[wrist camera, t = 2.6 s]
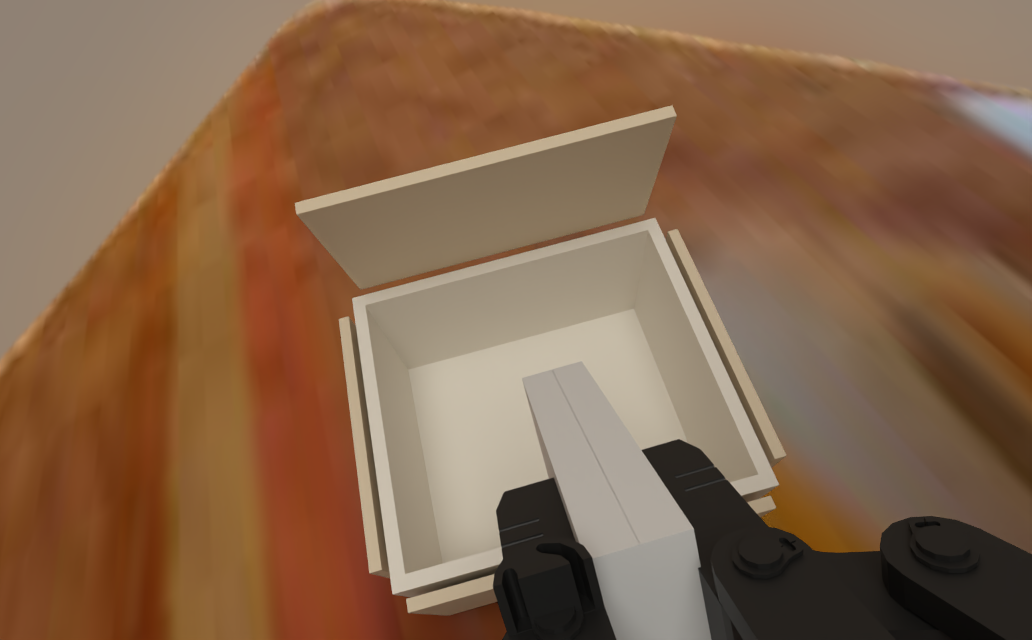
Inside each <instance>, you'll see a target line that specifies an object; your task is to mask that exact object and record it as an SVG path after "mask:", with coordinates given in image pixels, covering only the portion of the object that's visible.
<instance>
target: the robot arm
mask: <svg viewBox="0 0 1032 640" xmlns="http://www.w3.org/2000/svg"><path fill="white" fill-rule="evenodd" d="M522 381H523V384H524V388H525V392H526V396H527V399H528V403H529V407H530V410H531V414H532V418H533V422H534V425H535V429H536V433H537V437H538V440H539V444H540V448H541V451H542V455H543V459H544V463H545V466H546V470H547V474H548V477H549V479H546V480H543V481H539V482H536V483H533V484H529V485H526V486H522V487H519V488H515V489H512V490H508V491H505V492H504V493H503V495H502V498H501V500H500V502H499V505H498V507H497V509H496V515H497V522H498V529H499V535H500V542H501V547H502V556H503V560H502V561H501V563H500V565H499V566H498V568H497V569H496V571H495V574H494V581H493V589H494V593H495V596H496V599H497V602H498V605H499V608H500V611H501V614H502V617H503V620H504V624H505V627H506V630H507V632H506V634H505V636H504V637H503V639H502V640H1032V554H1030V553H1028V552H1026V551H1024V550H1022V549H1020V548H1018V547H1016V546H1014V545H1012V544H1010V543H1008V542H1006V541H1003V540H1001V539H999V538H997V537H995V536H993V535H991V534H989V533H987V532H985V531H983V530H981V529H979V528H976V527H974V526H971V525H968V524H965V523H963V522H960V521H957V520H952V519H946V518H940V517H933V516H927V517H910V518H907V519H904V520H901V521H898V522H895V523H892V524H891V525H890V526H889V527H888V528H887V529H886V530H885V531H884V532H883V533H882V536H881V543H880V551H873V552H848V553H831V552H819V551H814V550H812V549H811V548H810V547H809V546H808V545H807V544H806V543H804V542H803V541H802V540H800V539H799V538H798V537H796V536H795V535H794V534H791V533H788V532H785V531H783V530H780V529H777V528H770V527H768V526H767V525H766V524H765V522H764V521H763V520H762V519H761V518H760V517H759V516H758V514H757V513H756V512H755V511H754V510H753V509H752V508H751V506H750V505H749V504H748V503H747V502H746V501H745V500H744V498H743V497H742V496H741V495H740V494H739V493H738V491H737V490H736V489H735V488H734V487H733V486H732V485H731V483H730V482H729V481H728V480H726V479H725V477H724V475H723V474H722V473H721V472H720V471H719V470H718V469H717V467H714V464H713V463H712V462H711V461H710V459H709V458H708V457H707V456H706V455H705V454H704V452H703V451H702V450H701V449H699V448H697V447H695V446H693V445H691V444H689V443H687V442H684V441H682V440H680V439H677V440H674V441H670V442H667V443H663V444H660V445H657V446H653V447H650V448H646V449H643V450H641V449H640V447H639V446H638V444H637V443H636V441H635V440H634V438H633V437H632V435H631V434H630V432H629V431H628V429H627V428H626V426H625V425H624V424H623V422H622V421H621V419H620V418H619V416H618V415H617V413H616V412H615V410H614V409H613V407H612V406H611V404H610V403H609V401H608V400H607V398H606V397H605V395H604V394H603V392H602V391H601V389H600V388H599V386H598V385H597V383H596V382H595V380H594V379H593V377H592V376H591V374H590V373H589V371H588V370H587V368H586V367H585V365H584V364H583V362H582V361H580V362H577V363H573V364H570V365H566V366H562V367H559V368H555V369H552V370H548V371H545V372H541V373H538V374H534V375H531V376H527V377H523V378H522Z"/></svg>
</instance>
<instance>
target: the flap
mask: <svg viewBox="0 0 1032 640" xmlns="http://www.w3.org/2000/svg"><path fill="white" fill-rule="evenodd" d="M676 116H677V115H676V113H675V111H674V108H673V106H668V107H664V108H660V109H656V110H653V111H649V112H645V113H641V114H637V115H633V116H629V117H625V118H622V119H618V120H614V121H610V122H606V123H602V124H598V125H595V126H591V127H587V128H583V129H579V130H575V131H571V132H567V133H564V134H560V135H556V136H552V137H548V138H544V139H540V140H537V141H533V142H529V143H525V144H521V145H517V146H513V147H510V148H506V149H502V150H498V151H494V152H490V153H486V154H482V155H479V156H475V157H471V158H467V159H463V160H459V161H455V162H452V163H448V164H444V165H440V166H436V167H432V168H428V169H424V170H421V171H417V172H413V173H409V174H405V175H401V176H397V177H394V178H390V179H386V180H382V181H378V182H374V183H370V184H366V185H363V186H359V187H355V188H351V189H347V190H343V191H339V192H336V193H332V194H328V195H324V196H320V197H316V198H312V199H308V200H305V201H301V202H297V203H295V207H296V214H297V215H298V217H299V218H300V219H301V220H302V221H303V222H304V224H305V225H306V226H307V227H308V228H309V229H310V231H311V232H312V233H313V234H314V235H315V237H316V238H317V239H318V240H319V241H320V242H321V244H322V245H323V246H324V247H325V248H326V249H327V251H328V252H329V253H330V254H331V255H332V257H333V258H334V259H335V260H336V261H337V262H338V264H339V265H340V266H341V267H342V268H343V269H344V271H345V272H346V273H347V274H348V275H349V277H350V278H351V279H352V280H353V281H354V282H355V284H356V285H357V286H358V287H359V288H360V289H365V288H369V287H373V286H376V285H380V284H384V283H388V282H392V281H395V280H399V279H403V278H407V277H410V276H414V275H418V274H422V273H426V272H429V271H433V270H437V269H441V268H444V267H448V266H452V265H456V264H460V263H463V262H467V261H471V260H475V259H478V258H482V257H486V256H490V255H493V254H497V253H501V252H505V251H509V250H512V249H516V248H520V247H524V246H527V245H531V244H535V243H539V242H543V241H546V240H550V239H554V238H558V237H561V236H565V235H569V234H573V233H577V232H580V231H584V230H588V229H592V228H595V227H599V226H603V225H607V224H611V223H614V222H618V221H622V220H626V219H629V218H633V217H637V216H641V215H644V212H645V209H646V206H647V203H648V200H649V197H650V194H651V191H652V188H653V185H654V182H655V179H656V176H657V173H658V170H659V167H660V164H661V161H662V158H663V155H664V152H665V149H666V146H667V143H668V140H669V137H670V134H671V131H672V128H673V125H674V122H675V119H676Z"/></svg>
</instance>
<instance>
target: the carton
mask: <svg viewBox="0 0 1032 640" xmlns="http://www.w3.org/2000/svg"><path fill="white" fill-rule="evenodd" d="M352 300H353V308H354V315H355V322H356V326H355V324H354V323H353V322H352V320H351V319H350V318H349V317H345V318H341V319H339V325H340V333H341V341H342V350H343V358H344V366H345V374H346V383H347V391H348V399H349V408H350V416H351V424H352V432H353V441H354V449H355V457H356V465H357V474H358V482H359V490H360V498H361V507H362V515H363V523H364V532H365V540H366V548H367V556H368V565H369V573H371V574H375V575H379V576H383V577H387V578H390V579H391V586H392V594H393V595H399V596H406V597H412V598H408V599H406V602H407V608H408V613H417V614H432V615H447V616H449V615H452V614H456V613H459V612H463V611H466V610H470V609H473V608H477V607H480V606H484V605H487V604H491V603H494V602H497V599H496V596H495V593H494V589H493V581H494V574H495V571H496V569H497V568H498V566H499V565H500V563H501V561H502V560H503V556H502V547H501V542H500V535H499V529H498V522H497V515H496V509H497V507H498V505H499V502H500V500H501V498H502V495H503V493H504V492H505V491H508V490H512V489H515V488H519V487H522V486H526V485H529V484H533V483H536V482H539V481H543V480H546V479H549V477H548V474H547V470H546V466H545V463H544V459H543V455H542V451H541V448H540V444H539V440H538V437H537V433H536V429H535V425H534V422H533V418H532V414H531V410H530V407H529V403H528V399H527V396H526V392H525V388H524V384H523V381H522V378H523V377H527V376H531V375H534V374H538V373H541V372H545V371H548V370H552V369H555V368H559V367H562V366H566V365H570V364H573V363H577V362H580V361H582V362H583V364H584V365H585V367H586V368H587V370H588V371H589V373H590V374H591V376H592V377H593V379H594V380H595V382H596V383H597V385H598V386H599V388H600V389H601V391H602V392H603V394H604V395H605V397H606V398H607V400H608V401H609V403H610V404H611V406H612V407H613V409H614V410H615V412H616V413H617V415H618V416H619V418H620V419H621V421H622V422H623V424H624V425H625V426H626V428H627V429H628V431H629V432H630V434H631V435H632V437H633V438H634V440H635V441H636V443H637V444H638V446H639V447H640V449H641V450H643V449H646V448H650V447H653V446H657V445H660V444H663V443H667V442H670V441H674V440H677V439H680V440H682V441H684V442H687V443H689V444H691V445H693V446H695V447H697V448H699V449H701V450H702V451H703V452H704V454H705V455H706V456H707V457H708V458H709V459H710V461H711V462H712V463H713V464H714V467H717V469H718V470H719V471H720V472H721V473H722V474H723V475H724V477H725V479H726V480H728V481H729V482H730V483H731V485H732V486H733V487H734V488H735V489H736V490H737V491H738V493H739V494H740V495H741V496H742V497H743V498H744V500H745V501H746V502H747V503H748V504H749V505H750V506H751V508H752V509H753V510H754V511H755V512H756V513H757V514H758V516H759V517H762V516H764V515H765V514H767V513H769V512H771V511H772V510H774V509H776V506H775V504H774V502H773V499H772V497H771V496H768V497H764V498H761V497H762V496H764V495H765V494H767V493H768V492H770V491H771V490H772V489H774V488H775V487H777V486H778V485H779V483H778V481H777V479H776V477H775V475H774V473H773V470H772V467H773V466H774V465H776V464H777V463H778V462H779V461H781V460H782V459H783V458H784V457H786V456H787V455H786V453H785V451H784V449H783V447H782V445H781V443H780V441H779V439H778V437H777V435H776V433H775V431H774V429H773V426H772V424H771V422H770V420H769V418H768V416H767V414H766V412H765V410H764V408H763V406H762V404H761V402H760V399H759V397H758V395H757V393H756V391H755V389H754V387H753V385H752V383H751V381H750V379H749V377H748V375H747V373H746V370H745V368H744V366H743V364H742V362H741V360H740V358H739V356H738V354H737V352H736V350H735V348H734V346H733V343H732V341H731V339H730V337H729V335H728V333H727V331H726V329H725V327H724V325H723V323H722V321H721V319H720V317H719V314H718V312H717V310H716V308H715V306H714V304H713V302H712V300H711V298H710V296H709V294H708V292H707V290H706V287H705V285H704V283H703V281H702V279H701V277H700V275H699V273H698V271H697V269H696V267H695V265H694V263H693V261H692V258H691V256H690V254H689V252H688V250H687V248H686V246H685V244H684V242H683V240H682V238H681V236H680V234H679V231H678V229H676V230H672V231H668V233H667V238H666V240H665V238H664V236H663V234H662V231H661V229H660V227H659V225H658V223H657V221H656V219H655V218H653V219H649V220H645V221H642V222H638V223H634V224H630V225H627V226H623V227H619V228H615V229H612V230H608V231H604V232H600V233H596V234H593V235H589V236H585V237H581V238H578V239H574V240H570V241H566V242H562V243H559V244H555V245H551V246H547V247H544V248H540V249H536V250H532V251H529V252H525V253H521V254H517V255H513V256H510V257H506V258H502V259H498V260H495V261H491V262H487V263H483V264H480V265H476V266H472V267H468V268H464V269H461V270H457V271H453V272H449V273H446V274H442V275H438V276H434V277H430V278H427V279H423V280H419V281H415V282H412V283H408V284H404V285H400V286H397V287H393V288H389V289H385V290H381V291H378V292H374V293H370V294H366V295H363V296H359V297H355V298H352ZM759 498H761V499H759Z"/></svg>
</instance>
